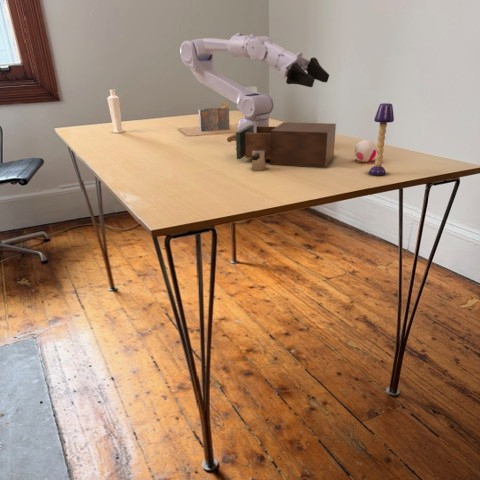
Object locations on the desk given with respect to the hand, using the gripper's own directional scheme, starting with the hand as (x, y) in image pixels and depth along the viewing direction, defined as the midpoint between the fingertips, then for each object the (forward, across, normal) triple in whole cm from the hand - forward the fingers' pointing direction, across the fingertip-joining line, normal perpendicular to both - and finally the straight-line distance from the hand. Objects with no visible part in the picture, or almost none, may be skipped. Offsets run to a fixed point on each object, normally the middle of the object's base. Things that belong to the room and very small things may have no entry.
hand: (320, 81), depth 135 cm
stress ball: (+22, 0, +13) cm, 26 cm away
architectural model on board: (-45, +15, +41) cm, 63 cm away
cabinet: (+7, -9, +18) cm, 22 cm away
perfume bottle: (-73, -8, +50) cm, 89 cm away
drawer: (-4, -14, +21) cm, 26 cm away
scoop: (+3, -25, +18) cm, 31 cm away
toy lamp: (+30, -11, +9) cm, 33 cm away
